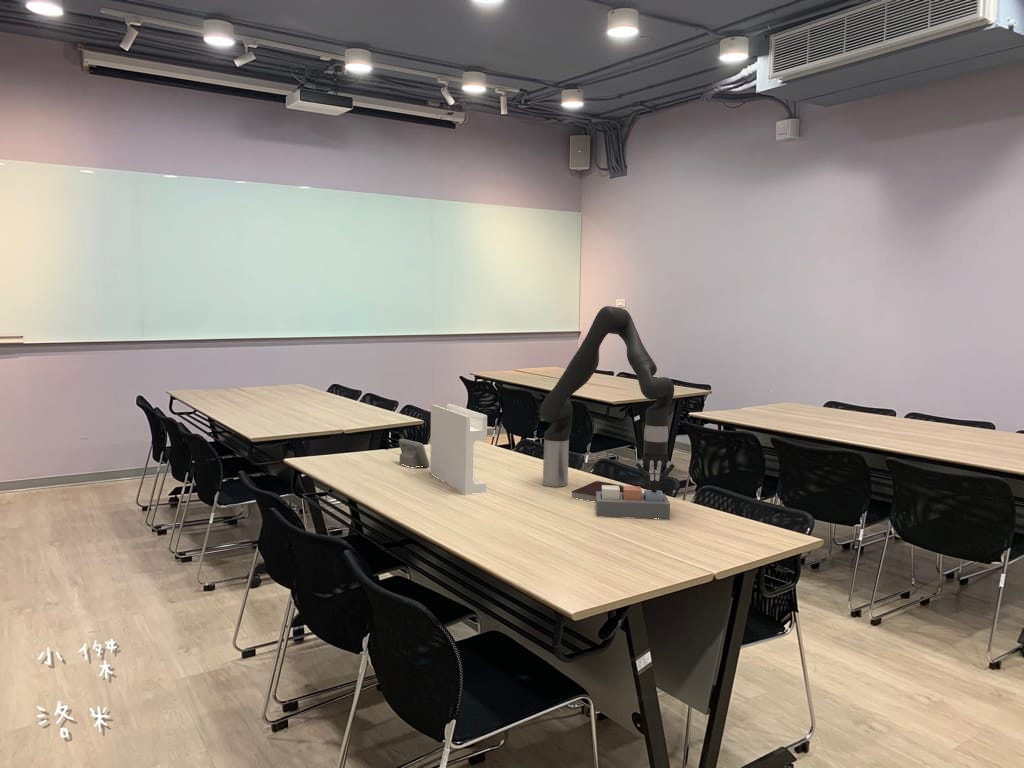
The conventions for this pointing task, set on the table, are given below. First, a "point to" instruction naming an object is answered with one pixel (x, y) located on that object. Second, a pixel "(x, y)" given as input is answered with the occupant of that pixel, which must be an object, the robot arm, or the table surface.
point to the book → (591, 490)
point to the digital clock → (413, 454)
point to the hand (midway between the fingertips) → (653, 491)
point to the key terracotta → (632, 493)
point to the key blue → (653, 495)
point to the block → (456, 446)
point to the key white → (610, 492)
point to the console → (632, 507)
